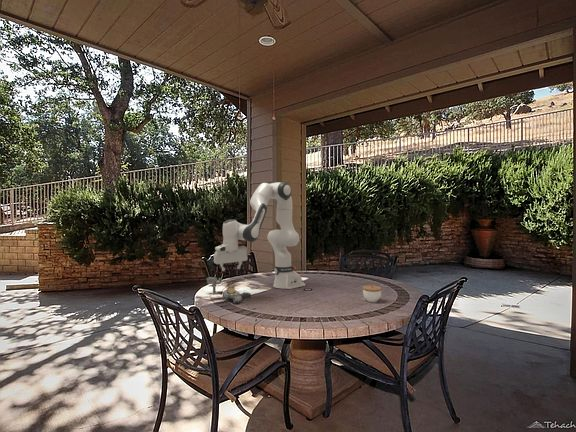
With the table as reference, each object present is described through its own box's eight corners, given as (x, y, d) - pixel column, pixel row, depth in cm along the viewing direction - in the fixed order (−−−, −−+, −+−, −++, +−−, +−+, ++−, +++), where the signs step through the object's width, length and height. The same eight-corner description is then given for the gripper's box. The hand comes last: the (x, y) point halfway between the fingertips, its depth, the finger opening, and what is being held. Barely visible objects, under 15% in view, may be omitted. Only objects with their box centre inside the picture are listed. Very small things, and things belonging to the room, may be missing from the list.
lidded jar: (382, 303, 190) (382, 287, 189) (362, 302, 192) (362, 286, 191) (380, 298, 200) (380, 282, 200) (362, 297, 202) (362, 282, 202)
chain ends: (247, 294, 211) (247, 288, 211) (257, 301, 197) (257, 294, 197) (222, 298, 203) (222, 291, 203) (231, 305, 189) (231, 298, 189)
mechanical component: (220, 294, 212) (220, 278, 212) (205, 293, 214) (205, 278, 214) (222, 293, 215) (222, 277, 215) (207, 292, 217) (207, 277, 217)
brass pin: (233, 298, 204) (232, 284, 203) (234, 299, 201) (234, 286, 200) (227, 298, 202) (227, 285, 202) (229, 300, 199) (229, 286, 199)
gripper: (244, 244, 208) (245, 267, 209) (212, 247, 198) (213, 271, 199) (248, 245, 203) (249, 268, 203) (215, 249, 193) (216, 272, 193)
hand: (231, 269), depth 201 cm, fingers open, 8 cm apart
